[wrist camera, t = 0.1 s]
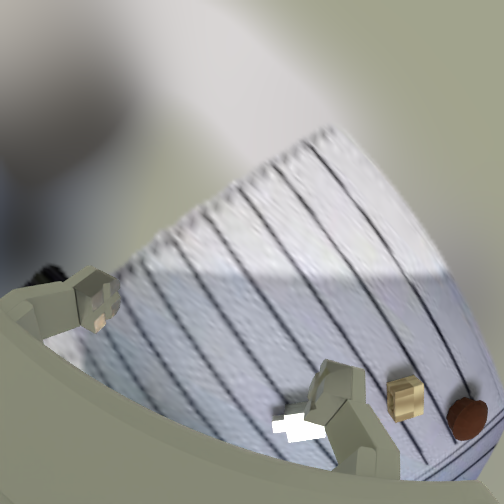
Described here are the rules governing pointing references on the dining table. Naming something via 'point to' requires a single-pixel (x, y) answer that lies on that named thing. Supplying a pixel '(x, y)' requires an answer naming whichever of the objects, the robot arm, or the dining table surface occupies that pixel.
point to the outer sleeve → (300, 424)
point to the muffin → (467, 418)
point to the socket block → (405, 398)
